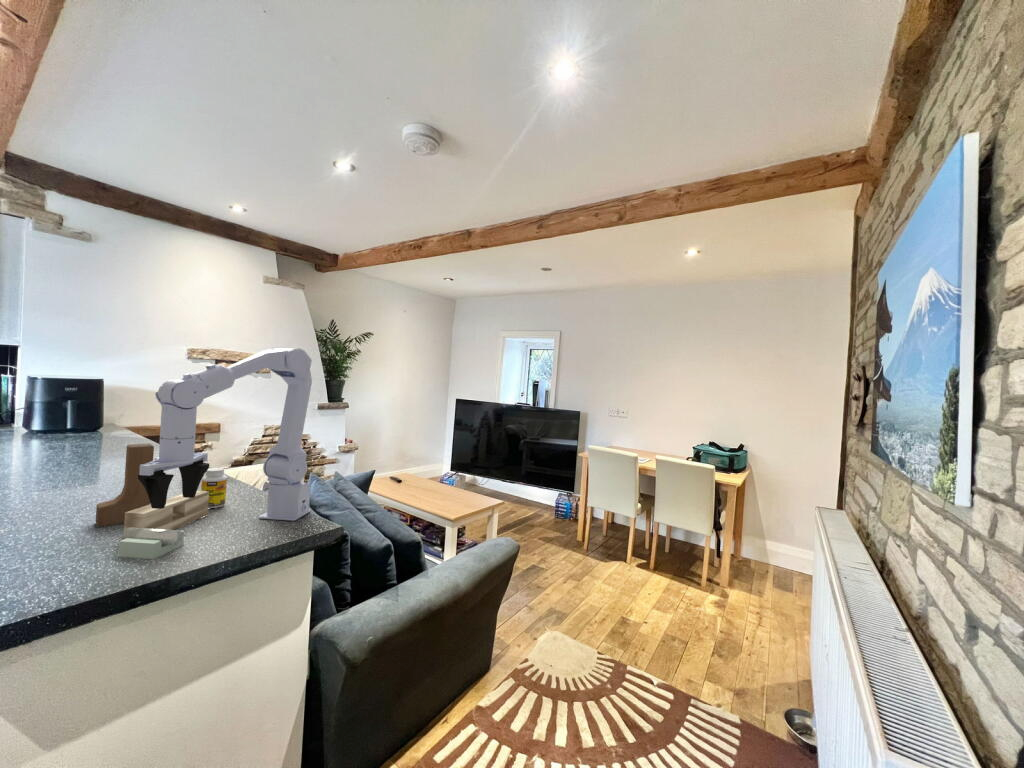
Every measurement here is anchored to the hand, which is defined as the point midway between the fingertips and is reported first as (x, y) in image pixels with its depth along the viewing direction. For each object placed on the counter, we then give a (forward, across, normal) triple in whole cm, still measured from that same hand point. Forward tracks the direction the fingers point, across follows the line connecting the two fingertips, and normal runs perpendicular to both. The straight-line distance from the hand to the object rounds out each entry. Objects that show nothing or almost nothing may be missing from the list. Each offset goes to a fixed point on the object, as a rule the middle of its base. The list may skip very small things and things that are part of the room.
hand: (174, 502), depth 85 cm
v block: (+9, +2, -2) cm, 10 cm away
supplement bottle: (+10, -26, -11) cm, 30 cm away
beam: (+9, -10, -9) cm, 16 cm away
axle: (+6, +2, -2) cm, 7 cm away
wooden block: (+10, -12, -22) cm, 27 cm away
